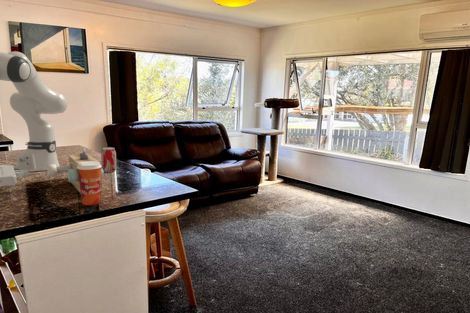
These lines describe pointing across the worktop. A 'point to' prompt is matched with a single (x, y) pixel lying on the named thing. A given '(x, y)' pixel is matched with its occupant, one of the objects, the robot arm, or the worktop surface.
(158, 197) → the worktop surface
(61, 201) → the worktop surface
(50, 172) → the cream knob
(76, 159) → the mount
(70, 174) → the teal knob
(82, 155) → the potentiometer
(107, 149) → the soda can
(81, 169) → the coffee cup
